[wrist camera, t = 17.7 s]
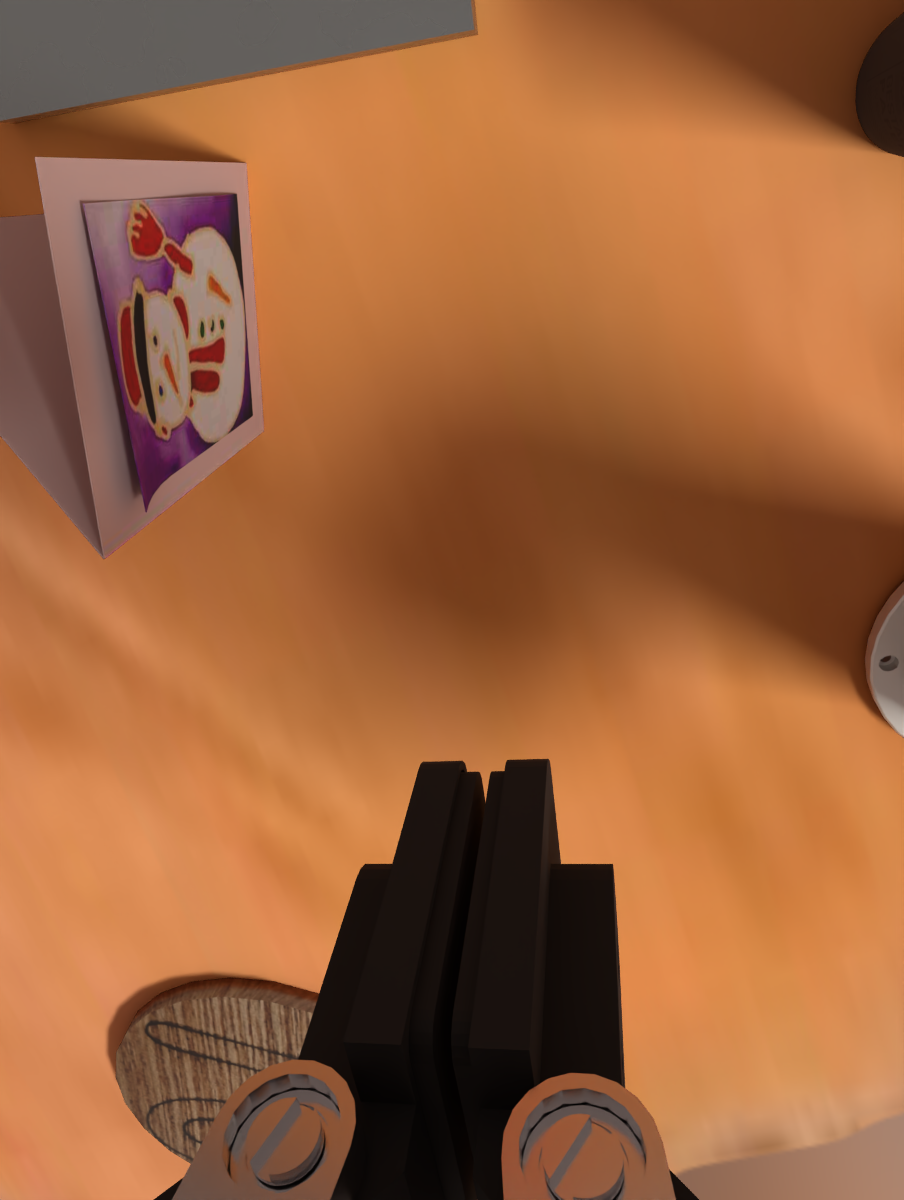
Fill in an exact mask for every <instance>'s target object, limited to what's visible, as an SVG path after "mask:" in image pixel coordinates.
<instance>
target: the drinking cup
mask: <svg viewBox="0 0 904 1200" xmlns="http://www.w3.org/2000/svg"><path fill="white" fill-rule="evenodd" d="M856 110H857V115H858V119H859V121H860V124H861V126H862V128H863V130H864V132H865V134H866V135H867V136H868V138H869V139H870V140H871V141H872V142H873V143H874V144H875V145H877V146H878V147H879V148H881V149H883V150H884V151H887V152H889V153H891V154H895V155H898V156H902V157H904V13H903V14H901V15H900V16H899V17H898V18H897V19H895V20H894V21H893V22H892V23H891V24H890V25H889V26H888V27H887V28H886V29H885V30H884V31H883V32H882V33H881V34H880V35H879V37H878V38H877V39H876V41H875V42H874V44H873V45H872V46H871V48H870V50H869V52H868V53H867V55H866V57H865V59H864V62H863V64H862V67H861V69H860V73H859V76H858V80H857V86H856Z"/></svg>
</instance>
